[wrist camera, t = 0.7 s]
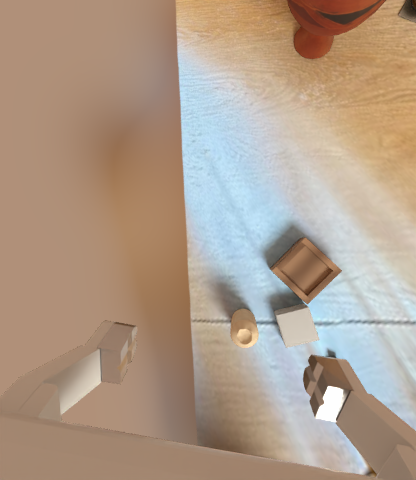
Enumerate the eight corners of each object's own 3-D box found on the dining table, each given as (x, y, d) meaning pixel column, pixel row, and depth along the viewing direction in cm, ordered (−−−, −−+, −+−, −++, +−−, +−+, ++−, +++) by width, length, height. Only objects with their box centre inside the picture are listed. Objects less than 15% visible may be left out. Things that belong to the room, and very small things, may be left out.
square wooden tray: (334, 268, 51) (342, 270, 47) (302, 299, 52) (307, 304, 48) (300, 238, 52) (305, 237, 48) (269, 269, 53) (272, 270, 49)
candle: (227, 314, 54) (225, 329, 44) (248, 304, 54) (250, 317, 44) (238, 335, 54) (238, 355, 44) (259, 325, 53) (264, 344, 43)
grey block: (313, 332, 52) (319, 339, 48) (282, 340, 53) (286, 347, 49) (303, 302, 52) (308, 307, 48) (273, 310, 53) (276, 315, 49)
